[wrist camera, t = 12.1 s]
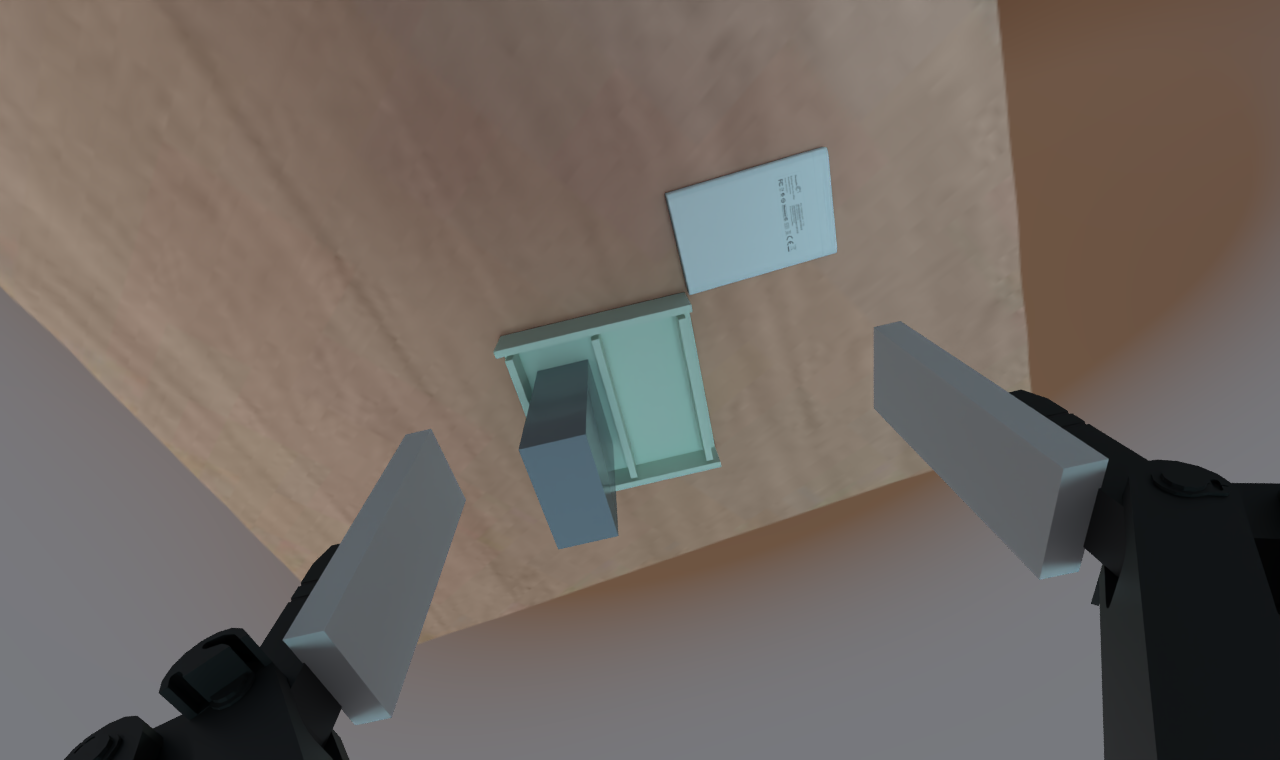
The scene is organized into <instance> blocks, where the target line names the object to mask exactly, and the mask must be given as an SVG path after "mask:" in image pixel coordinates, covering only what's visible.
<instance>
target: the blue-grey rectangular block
mask: <svg viewBox="0 0 1280 760" xmlns="http://www.w3.org/2000/svg"><path fill="white" fill-rule="evenodd" d="M519 452H520V454H521V457H522V459H523V462H524V464H525V467H526V469H527V472H528V474H529V477H530V480H531V482H532V485H533V487H534V490H535V492H536V495H537V497H538V500H539V502H540V505H541V507H542V510H543V512H544V515H545V517H546V520H547V522H548V525H549V527H550V530H551V532H552V535H553V537H554V540H555V542H556V545H557V547H558V549H562V548H567V547H571V546H575V545H580V544H584V543H589V542H593V541H598V540H602V539H607V538H611V537H615V536H618V520H617V503H616V485H615V467H614V449H613V442H612V438H611V435H610V432H609V428H608V425H607V421H606V418H605V415H604V411H603V408H602V404H601V401H600V398H599V394H598V391H597V387H596V384H595V381H594V377H593V374H592V370H591V367H590V364H589V360H588V359H587V360H583V361H579V362H574V363H570V364H566V365H562V366H557V367H553V368H549V369H545V370H540V371H537V375H536V379H535V383H534V388H533V392H532V396H531V400H530V404H529V409H528V413H527V417H526V421H525V425H524V429H523V434H522V438H521V442H520V446H519Z"/></svg>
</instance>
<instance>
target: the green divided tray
mask: <svg viewBox="0 0 1280 760" xmlns="http://www.w3.org/2000/svg"><path fill="white" fill-rule="evenodd" d="M689 312H692V306H691V303H690V301H689V300H688V298H687V296H686V294H685V292H682V293H678V294H674V295H670V296H666V297H662V298H658V299H653V300H649V301H645V302H641V303H637V304H633V305H629V306H624V307H620V308H616V309H612V310H608V311H604V312H599V313H595V314H591V315H587V316H583V317H579V318H575V319H570V320H566V321H562V322H558V323H554V324H550V325H546V326H541V327H537V328H533V329H529V330H525V331H521V332H516V333H512V334H508V335H504V336H500V339H499V341H498V343H497V345H496V347H495V350H494V355H495V357H496V359H497V358H501V357H505V359H506V360H505V363H506V365H507V368H508V371H509V373H510V376H511V379H512V381H513V384H514V386H515V389H516V392H517V394H518V397H519V400H520V402H521V405H522V407H523V410H524V413H525V415H526V417H527V413H528V409H529V404H530V400H531V396H532V392H533V388H534V383H535V379H536V375H537V371H540V370H545V369H549V368H553V367H557V366H562V365H566V364H570V363H574V362H579V361H583V360H587V359H588V360H589V364H590V367H591V370H592V374H593V377H594V381H595V384H596V387H597V391H598V394H599V398H600V401H601V404H602V408H603V411H604V415H605V418H606V421H607V425H608V428H609V432H610V435H611V438H612V442H613V449H614V467H615V485H616V491H618V490H623V489H627V488H631V487H636V486H640V485H644V484H649V483H653V482H657V481H662V480H666V479H670V478H675V477H679V476H683V475H688V474H692V473H696V472H701V471H705V470H709V469H714V468H718V467H721V463H720V459H719V457H718V454H717V451H716V449H715V445H714V440H713V435H712V429H711V424H710V419H709V413H708V408H707V403H706V398H705V392H704V387H703V382H702V376H701V371H700V366H699V360H698V355H697V350H696V344H695V339H694V334H693V329H692V323H691V318H690V313H689Z"/></svg>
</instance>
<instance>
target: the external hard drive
mask: <svg viewBox="0 0 1280 760" xmlns="http://www.w3.org/2000/svg"><path fill="white" fill-rule="evenodd" d="M665 198H666V202H667V206H668V210H669V214H670V219H671V223H672V227H673V231H674V236H675V240H676V244H677V248H678V252H679V257H680V261H681V265H682V270H683V274H684V278H685V282H686V287H687V291H688V293H689V295H692V294H695V293H699V292H702V291H706V290H709V289H713V288H716V287H719V286H723V285H726V284H730V283H733V282H737V281H740V280H744V279H747V278H751V277H754V276H757V275H761V274H765V273H768V272H771V271H775V270H778V269H782V268H785V267H789V266H792V265H796V264H799V263H803V262H806V261H809V260H813V259H816V258H820V257H823V256H827V255H830V254H834V253H836V252H837V242H836V231H835V221H834V211H833V200H832V189H831V178H830V167H829V156H828V151H827V147H820V148H817V149H813V150H810V151H806V152H803V153H799V154H796V155H793V156H789V157H786V158H782V159H779V160H776V161H772V162H769V163H765V164H762V165H759V166H755V167H752V168H749V169H745V170H742V171H739V172H735V173H732V174H729V175H725V176H722V177H718V178H715V179H712V180H708V181H705V182H701V183H698V184H695V185H691V186H688V187H684V188H681V189H678V190H674V191H671V192H668V193H665Z"/></svg>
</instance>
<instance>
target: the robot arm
mask: <svg viewBox="0 0 1280 760" xmlns="http://www.w3.org/2000/svg"><path fill="white" fill-rule="evenodd" d="M874 409H875V410H876V411H877V412H878V413H879V414H880V415H881V416H882V417H883V418H884V419H885V420H886V421H887V422H888V423H889V424H890V425H891V426H892V427H893V428H894V430H895V431H896V432H897V433H898V434H899V435H900V436H901V437H902V438H903V439H904V440H905V441H906V442H907V443H908V444H909V445H910V446H911V447H912V448H913V449H914V450H915V451H916V452H917V453H918V454H919V455H920V456H921V457H922V459H923V460H924V461H925V462H926V463H927V464H928V465H929V466H930V467H931V468H932V469H933V470H934V471H935V472H936V473H937V474H938V475H939V476H940V477H941V478H942V479H943V480H944V481H945V482H946V483H947V484H948V485H949V486H950V488H952V490H953V491H955V493H956V494H957V495H958V496H959V497H960V498H961V499H962V500H963V501H964V502H965V503H966V504H967V505H968V506H969V507H970V508H971V509H972V510H973V511H974V512H975V513H976V514H977V516H978V517H980V519H981V520H982V521H983V522H984V523H985V524H986V525H987V526H988V527H989V528H990V529H991V530H992V531H993V532H994V533H995V534H996V535H997V536H998V537H999V538H1000V539H1001V540H1002V541H1003V542H1004V543H1005V545H1007V547H1008V548H1009V549H1010V550H1011V551H1012V552H1013V553H1014V554H1015V555H1016V556H1017V557H1018V558H1019V559H1020V560H1021V561H1022V562H1023V563H1024V564H1025V565H1026V566H1027V567H1028V568H1029V569H1030V570H1031V571H1032V572H1033V574H1034V575H1035V576H1036V577H1037V578H1038V579H1039V580H1040V579H1045V578H1050V577H1054V576H1059V575H1064V574H1069V573H1074V572H1078V571H1079V569H1080V565H1081V561H1082V558H1083V554H1084V550H1085V549H1086V550H1087V551H1089V552H1090V553H1091V554H1092V555H1093V556H1094V557H1095V558H1097V559H1098V560H1099V561H1100V562H1101V563H1102V564H1103V565H1102V568H1101V572H1100V575H1099V578H1098V581H1097V585H1096V589H1095V592H1094V595H1093V598H1092V602H1091V604H1094V605H1097V606H1099V604H1100V629H1101V658H1102V659H1101V660H1102V695H1103V725H1104V726H1103V728H1104V758H1105V759H1104V760H1280V484H1272V483H1270V484H1268V483H1266V484H1265V483H1230V482H1229V481H1227V480H1226V479H1224V478H1223V477H1221V476H1220V475H1218V474H1216V473H1214V472H1212V471H1209V470H1207V469H1204V468H1202V467H1199V466H1195V465H1191V464H1187V463H1182V462H1179V461H1168V460H1152V461H1148V460H1147V459H1145V458H1143V457H1142V456H1140V455H1138V454H1137V453H1135V452H1134V451H1132V450H1130V449H1129V448H1127V447H1125V446H1124V445H1122V444H1121V443H1119V442H1117V441H1116V440H1114V439H1112V438H1111V437H1109V436H1107V435H1106V434H1104V433H1102V432H1101V431H1099V430H1098V429H1096V428H1095V427H1093V426H1091V425H1090V424H1087V425H1086V424H1085V422H1084V421H1083V420H1082V419H1080V418H1078V417H1077V416H1075V415H1074V414H1069V413H1068V411H1067V410H1065V409H1064V408H1062V407H1060V406H1059V405H1057V404H1056V403H1054V402H1052V401H1051V400H1049V399H1047V398H1045V397H1041V396H1039V395H1035V394H1033V393H1030V392H1027V391H1024V390H1018V391H1013V392H1009V393H1008V392H1007V391H1005V390H1004V389H1002V388H1001V387H999V386H998V385H996V384H995V383H993V382H992V381H990V380H989V379H987V378H986V377H984V376H983V375H981V374H980V373H978V372H977V371H975V370H974V369H972V368H970V367H969V366H967V365H966V364H964V363H963V362H961V361H960V360H958V359H957V358H955V357H954V356H952V355H951V354H949V353H948V352H946V351H945V350H943V349H942V348H940V347H939V346H937V345H936V344H934V343H933V342H931V341H930V340H928V339H927V338H925V337H924V336H922V335H921V334H919V333H918V332H916V331H915V330H913V329H911V328H910V327H908V326H907V325H905V324H904V323H902V322H901V321H899V322H894V323H890V324H886V325H881V326H877V327H874ZM465 501H466V499H465V497H464V495H463V493H462V491H461V489H460V487H459V485H458V483H457V481H456V479H455V477H454V475H453V473H452V471H451V468H450V466H449V464H448V462H447V460H446V458H445V456H444V454H443V452H442V450H441V448H440V446H439V444H438V442H437V440H436V438H435V436H434V434H433V432H432V430H431V429H428V430H424V431H420V432H415V433H411V434H407V435H405V437H404V439H403V440H402V442H401V444H400V445H399V447H398V449H397V450H396V452H395V454H394V455H393V457H392V459H391V460H390V462H389V464H388V465H387V467H386V469H385V470H384V472H383V474H382V475H381V477H380V479H379V480H378V482H377V484H376V485H375V487H374V489H373V490H372V492H371V494H370V495H369V497H368V499H367V500H366V502H365V504H364V505H363V507H362V509H361V510H360V512H359V514H358V515H357V517H356V519H355V520H354V522H353V524H352V525H351V527H350V529H349V530H348V532H347V534H346V535H345V537H344V539H343V540H342V542H341V543H340V544H336V545H332V546H331V547H330V548H329V549H328V550H327V551H326V552H325V553H323V554H322V555H321V556H320V557H319V558H318V559H317V560H316V561H315V562H314V563H313V565H312V566H311V568H310V569H309V571H308V572H307V574H306V576H305V577H304V579H303V580H302V582H301V586H300V587H298V588H297V590H296V591H295V593H294V594H293V596H292V598H291V602H289V603H288V604H287V605H286V607H285V609H284V610H283V612H282V613H281V615H280V616H279V618H278V620H277V621H276V623H275V624H274V626H273V627H272V629H271V631H270V632H269V634H268V635H267V637H266V638H265V640H264V642H263V643H262V645H261V646H260V647H259V646H258V645H257V644H256V643H255V642H254V641H253V639H252V638H251V637H250V636H249V635H248V634H247V633H246V632H245V631H244V630H243V629H242V628H230V629H227V630H224V631H221V632H218V633H216V634H214V635H212V636H210V637H208V638H206V639H204V640H203V641H201V642H200V643H198V644H197V645H196V646H194V647H193V648H192V649H191V650H189V651H188V652H186V653H185V654H184V655H183V656H182V657H181V658H180V659H179V660H178V661H177V662H176V663H175V664H174V665H173V666H172V667H171V669H170V670H169V671H168V673H167V674H166V676H165V677H164V679H163V680H162V683H161V687H160V690H159V693H160V695H162V696H163V697H164V698H165V699H166V700H167V701H168V702H169V703H171V704H172V705H173V706H174V707H175V708H176V709H177V710H178V711H179V712H181V713H182V715H180V716H178V717H176V718H174V719H172V720H170V721H168V722H166V723H164V724H162V725H159V726H158V727H155V728H151V727H150V726H149V725H148V724H147V723H145V722H144V721H143V720H142V719H140V718H139V717H138V716H129V717H124V718H121V719H119V720H116V721H114V722H112V723H109V724H108V725H106V726H105V727H103V728H101V729H100V730H98V731H97V732H95V733H93V734H91V735H90V736H89V737H88V738H86V739H85V740H84V741H83V742H82V743H80V744H79V745H78V746H77V747H75V749H73V750H72V751H71V752H70V754H69V755H68V756H67V757H66V758H65V759H64V760H349V758H348V755H347V753H346V750H345V748H344V745H343V743H342V740H341V738H340V737H339V736H338V735H337V733H336V732H335V731H334V730H333V727H334V724H335V722H336V720H337V718H338V715H339V713H340V710H341V709H342V710H343V711H344V713H345V714H346V715H347V716H348V717H349V719H350V720H351V721H352V722H353V723H354V724H355V725H359V724H364V723H369V722H373V721H378V720H383V719H387V718H391V717H392V715H393V712H394V709H395V706H396V703H397V700H398V697H399V694H400V692H401V689H402V686H403V683H404V679H405V677H406V674H407V671H408V668H409V665H410V662H411V659H412V656H413V653H414V651H415V648H416V645H417V642H418V639H419V636H420V633H421V630H422V627H423V624H424V621H425V618H426V615H427V612H428V609H429V607H430V604H431V601H432V598H433V595H434V592H435V589H436V586H437V583H438V580H439V577H440V574H441V571H442V568H443V565H444V563H445V560H446V557H447V554H448V551H449V548H450V545H451V542H452V539H453V536H454V533H455V530H456V527H457V524H458V521H459V519H460V516H461V513H462V510H463V507H464V504H465Z"/></svg>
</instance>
